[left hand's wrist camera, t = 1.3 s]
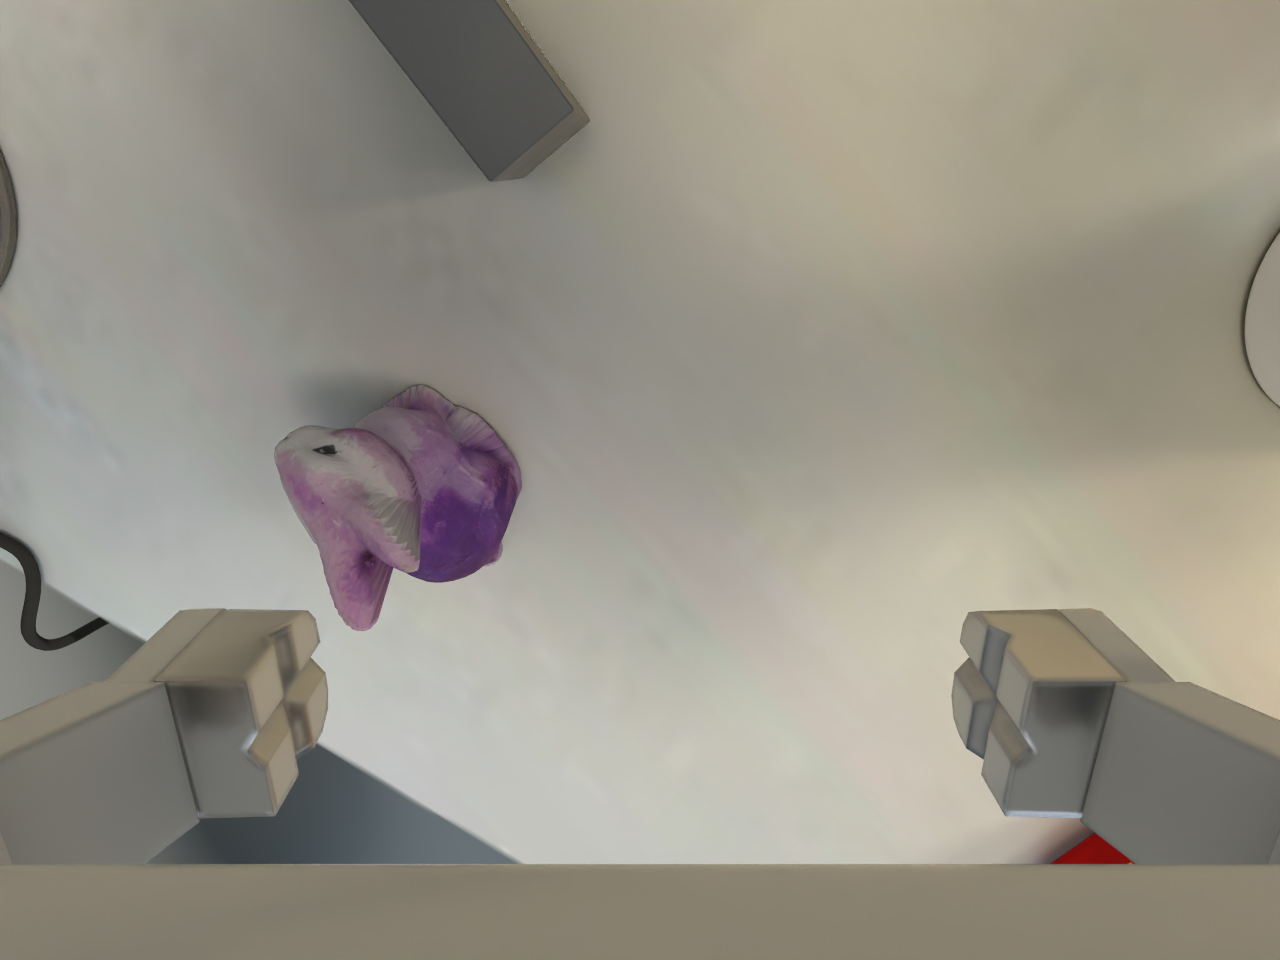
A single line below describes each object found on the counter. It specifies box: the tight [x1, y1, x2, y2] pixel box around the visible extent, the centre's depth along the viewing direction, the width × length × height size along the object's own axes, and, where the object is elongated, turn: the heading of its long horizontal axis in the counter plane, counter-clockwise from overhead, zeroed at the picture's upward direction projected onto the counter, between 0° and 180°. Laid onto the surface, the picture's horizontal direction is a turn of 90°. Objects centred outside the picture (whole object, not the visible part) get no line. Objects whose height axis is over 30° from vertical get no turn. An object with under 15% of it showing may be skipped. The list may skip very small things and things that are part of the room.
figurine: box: [274, 385, 522, 631], centre depth 39 cm, size 9×10×15 cm
